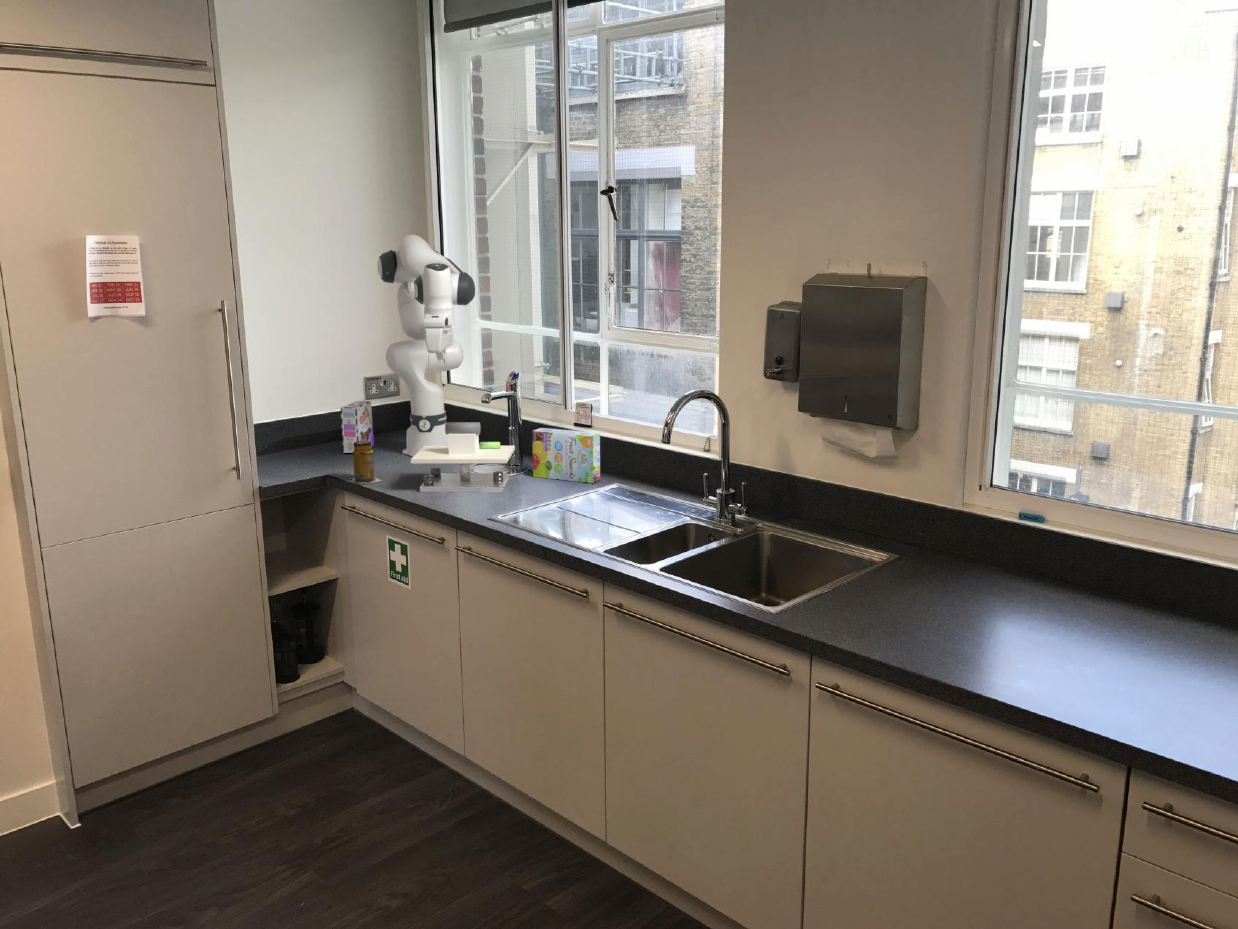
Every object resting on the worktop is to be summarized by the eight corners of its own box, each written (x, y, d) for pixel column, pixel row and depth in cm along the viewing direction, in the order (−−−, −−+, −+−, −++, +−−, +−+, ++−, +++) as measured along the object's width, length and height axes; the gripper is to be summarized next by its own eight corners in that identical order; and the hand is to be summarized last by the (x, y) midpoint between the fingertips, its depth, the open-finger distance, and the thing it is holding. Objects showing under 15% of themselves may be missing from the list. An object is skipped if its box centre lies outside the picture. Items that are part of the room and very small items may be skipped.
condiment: (370, 476, 316) (367, 438, 313) (382, 481, 310) (380, 443, 307) (348, 479, 312) (345, 441, 309) (360, 485, 305) (357, 446, 302)
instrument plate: (410, 463, 294) (408, 428, 292) (424, 449, 312) (422, 416, 309) (506, 463, 293) (504, 428, 291) (514, 449, 311) (513, 416, 308)
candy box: (359, 454, 344) (355, 407, 340) (342, 454, 345) (339, 407, 341) (374, 446, 357) (371, 400, 353) (359, 445, 358) (356, 399, 354)
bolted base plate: (420, 491, 297) (418, 465, 295) (431, 478, 313) (430, 453, 311) (500, 492, 296) (500, 466, 294) (508, 478, 312) (508, 453, 310)
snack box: (601, 480, 310) (600, 432, 306) (593, 484, 305) (592, 435, 301) (540, 473, 319) (539, 426, 315) (532, 477, 314) (530, 429, 310)
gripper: (436, 315, 314) (438, 359, 317) (421, 322, 294) (423, 369, 297) (456, 315, 314) (458, 359, 317) (442, 322, 294) (445, 369, 297)
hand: (441, 364), depth 307 cm, fingers closed
